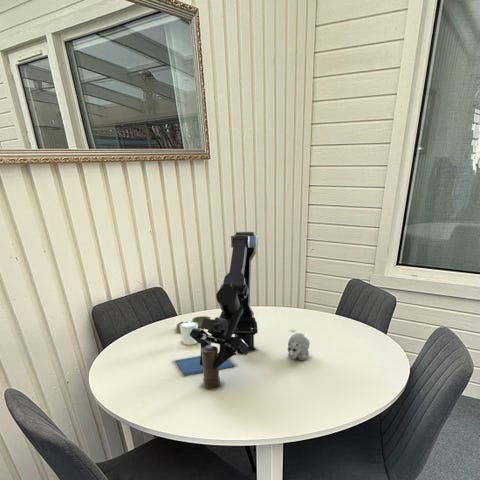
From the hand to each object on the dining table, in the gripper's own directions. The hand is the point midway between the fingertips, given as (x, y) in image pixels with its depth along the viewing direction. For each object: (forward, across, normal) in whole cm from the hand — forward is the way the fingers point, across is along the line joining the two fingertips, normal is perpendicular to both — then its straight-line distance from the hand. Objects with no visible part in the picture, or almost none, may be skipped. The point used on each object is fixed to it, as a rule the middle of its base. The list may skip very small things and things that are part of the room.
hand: (207, 367), depth 121 cm
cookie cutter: (-24, -41, +33) cm, 58 cm away
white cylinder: (-13, -31, +23) cm, 41 cm away
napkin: (-4, -13, +14) cm, 19 cm away
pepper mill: (+4, 0, +6) cm, 7 cm away
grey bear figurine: (-18, +12, +28) cm, 35 cm away
